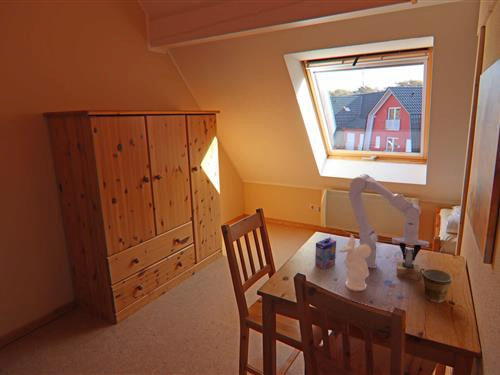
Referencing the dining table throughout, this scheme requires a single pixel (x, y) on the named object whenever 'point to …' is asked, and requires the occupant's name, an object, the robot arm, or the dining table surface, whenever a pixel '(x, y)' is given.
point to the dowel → (408, 257)
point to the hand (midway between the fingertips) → (408, 259)
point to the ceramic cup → (436, 284)
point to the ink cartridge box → (325, 253)
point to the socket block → (408, 270)
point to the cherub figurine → (356, 265)
